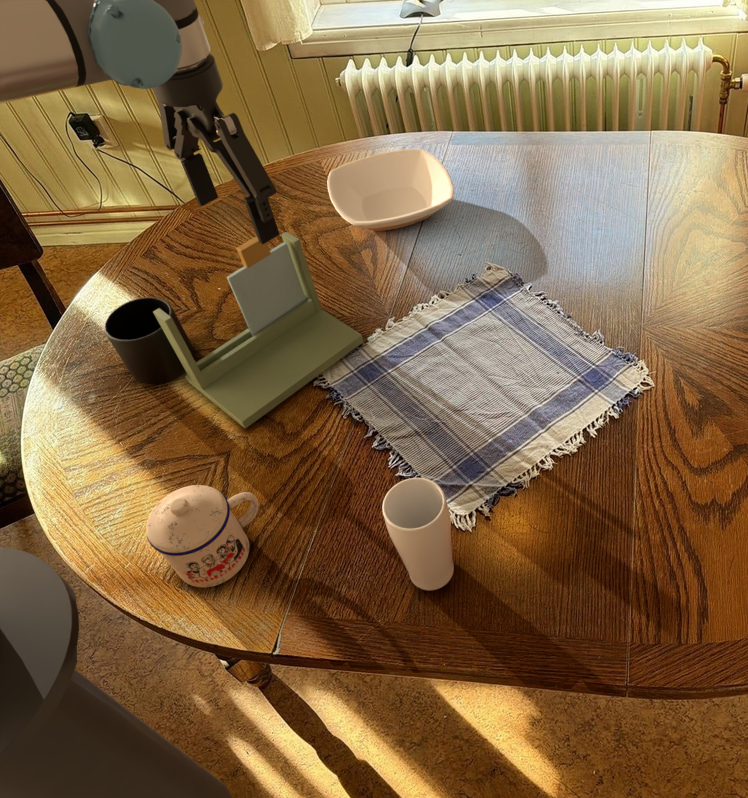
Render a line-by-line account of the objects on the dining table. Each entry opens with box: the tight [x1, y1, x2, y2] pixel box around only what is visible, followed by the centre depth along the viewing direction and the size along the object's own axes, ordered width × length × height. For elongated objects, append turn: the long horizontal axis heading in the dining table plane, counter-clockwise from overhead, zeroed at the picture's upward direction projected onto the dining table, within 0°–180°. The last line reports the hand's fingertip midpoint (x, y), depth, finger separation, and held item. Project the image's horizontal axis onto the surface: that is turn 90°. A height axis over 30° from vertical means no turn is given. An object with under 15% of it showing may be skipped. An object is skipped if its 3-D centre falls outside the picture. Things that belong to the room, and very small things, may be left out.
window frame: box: [153, 231, 364, 429], centre depth 107 cm, size 22×14×15 cm, turn 140°
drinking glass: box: [381, 477, 455, 591], centre depth 83 cm, size 7×7×15 cm
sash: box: [226, 235, 306, 337], centre depth 109 cm, size 10×1×16 cm, turn 140°
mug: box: [103, 296, 196, 385], centre depth 110 cm, size 9×12×9 cm
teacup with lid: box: [145, 484, 260, 588], centre depth 87 cm, size 12×9×12 cm
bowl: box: [326, 148, 455, 232], centre depth 136 cm, size 22×22×5 cm
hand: (238, 219), depth 99 cm, fingers open, 13 cm apart
